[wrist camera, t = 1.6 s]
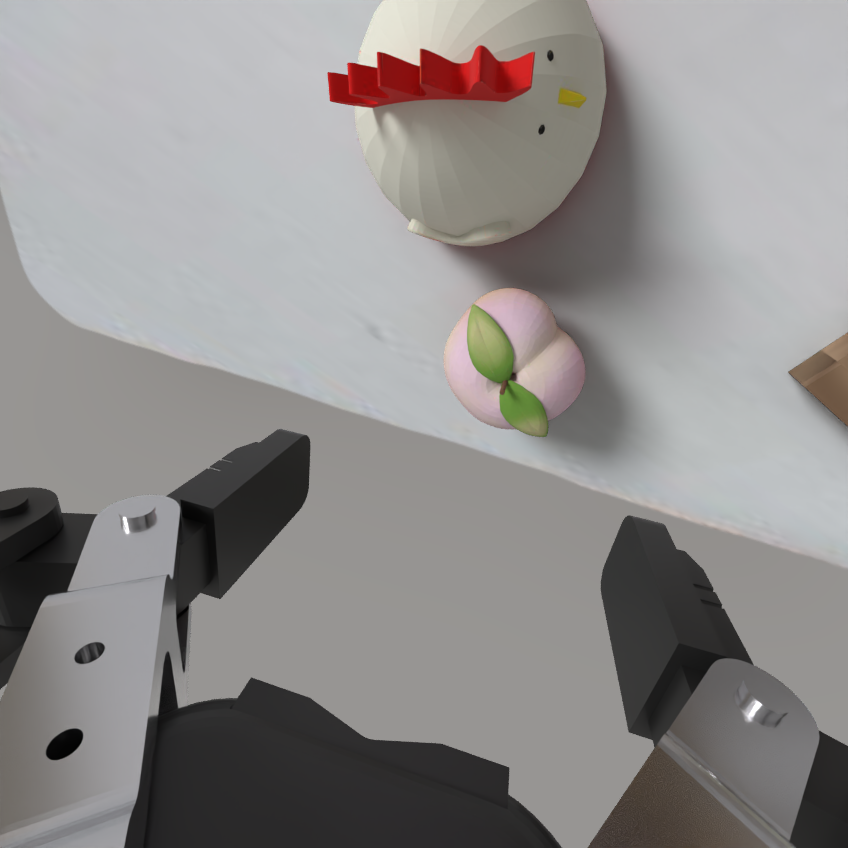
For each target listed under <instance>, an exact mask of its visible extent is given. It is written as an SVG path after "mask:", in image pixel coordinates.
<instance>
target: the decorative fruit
mask: <svg viewBox="0 0 848 848" xmlns="http://www.w3.org/2000/svg"><path fill="white" fill-rule="evenodd" d="M444 369H445V374H446V378H447V381H448V383H449V386H450V388H451V390H452V392H453V393H454V394H455V396H456V397H457V398H458V400H459V401H460V402H461V404H462V405H463V406H464V407H465V408H466V409H467V410H468V411H469V412H470V413H471V414H472V415H473V416H474V417H475V418H477V419H478V420H480V421H481V422H484V423H486V424H488V425H491V426H494V427H497V428H501V429H517V430H519V431H521V432H523V433H526V434H528V435H532V436H537V437H546V436H547V433H548V421H549V420H551V419H553V418H555V417H557V416H558V415H560V414H561V413H562V412H564V411H565V410H566V409H567V408H568V407H569V406H570V405H571V404H572V403H573V402H574V401H575V399H576V398H577V397H578V395H579V393H580V392H581V390H582V387H583V384H584V381H585V364H584V360H583V357H582V354H581V352H580V350H579V348H578V346H577V345H576V343H575V342H574V341H573V339H572V338H571V337H570V336H569V335H568V334H567V333H566V332H564V331H563V330H561V329H560V328H559V327H558V326H557V325H556V322H555V317H554V315H553V313H552V311H551V309H550V308H549V307H548V305H547V304H546V303H545V302H544V301H543V300H542V299H540V298H539V297H537V296H536V295H534V294H532V293H530V292H528V291H525V290H522V289H516V288H502V289H497V290H494V291H491V292H489V293H487V294H485V295H483V296H482V297H480V298H479V299H478V300H477V301H475V302H474V303H473V304H472V305H471V307H470V308H469V309H468V310H467V311H466V312H465V314H464V315H463V316H462V317H461V319H460V320H459V321H458V323H457V324H456V326H455V327H454V329H453V330H452V332H451V334H450V336H449V338H448V340H447V343H446V347H445V352H444Z"/></svg>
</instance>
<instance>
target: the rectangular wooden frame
mask: <svg viewBox="0 0 848 848" xmlns="http://www.w3.org/2000/svg"><path fill="white" fill-rule="evenodd" d="M789 373H790V374H791V375H792V376H793V377H794V378H795V379H796V380H797V381H798V382H800V383H801V384H802V385H803V386H804V387H805V388H806V389H807V390H808V391H809V392H811V393H812V394H813V395H814V396H815V397H816V398H817V399H818V400H819V401H820V402H822V403H823V404H824V405H825V406H826V407H827V408H828V409H829V410H830V411H831V412H833V413H834V414H835V415H836V416H837V417H838V418H839V419H840V420H841V421H842V422H844V423H845V424H846V425H847V426H848V333H846V334H845V335H843V336H842V337H840V338H839V339H837V340H836V341H834V342H833V343H831V344H830V345H828V346H827V347H825V348H824V349H822V350H821V351H819V352H818V353H816V354H815V355H813V356H812V357H810V358H809V359H807V360H806V361H804V362H803V363H801V364H800V365H798V366H796V367H795V368H793V369H792V370H790V371H789Z"/></svg>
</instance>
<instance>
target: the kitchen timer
mask: <svg viewBox="0 0 848 848" xmlns="http://www.w3.org/2000/svg"><path fill="white" fill-rule="evenodd" d="M347 65H348V75H344V74H338V73H331V72H328V83H329V95H330V101H331V102H336V103H341V104H347V105H353V106H355V121H356V129H357V133H358V137H359V140H360V144H361V147H362V151H363V154H364V158H365V161H366V164H367V166H368V167H369V169H370V171H371V173H372V175H373V176H374V178H375V180H376V182H377V184H378V185H379V187H380V189H381V191H382V192H383V194H384V195H385V196H386V197H387V199H388V200H389V201H390V202H391V203H392V204H393V205H394V206H395V207H396V208H397V209H398V210H399V211H400V212H401V213H402V214H403V215H404V216H405V217H406V218H407V219H408V220H409V221H410V224H409V226H408V231H410V232H412V233H415V234H417V235H420V236H423V237H426V238H430V239H433V240H437V241H440V242H444V243H448V244H453V245H459V246H483V245H489V244H493V243H498V242H503V241H505V240H508V239H510V238H512V237H515V236H517V235H519V234H521V233H524V232H526V231H528V230H531V229H532V228H533V227H535V226H536V225H537V224H538V223H539V222H541V221H542V220H543V219H544V218H546V217H547V216H548V215H549V214H551V213H552V212H553V211H554V210H556V209H557V208H558V207H559V206H560V205H561V203H562V202H563V201H564V199H565V198H566V197H567V195H568V194H569V193H570V191H571V190H572V189H573V187H574V186H575V185H576V183H577V182H578V181H579V179H580V178H581V177H582V175H583V172H584V170H585V168H586V165H587V163H588V161H589V158H590V156H591V154H592V151H593V149H594V147H595V144H596V142H597V140H598V137H599V133H600V128H601V122H602V116H603V110H604V104H605V99H606V93H607V90H606V77H605V64H604V51H603V44H602V41H601V39H600V36H599V33H598V31H597V28H596V25H595V23H594V20H593V17H592V14H591V12H590V9H589V6H588V4H587V1H586V0H383V1H382V3H381V4H380V6H379V7H378V8H377V10H376V11H375V13H374V15H373V17H372V20H371V22H370V25H369V28H368V30H367V33H366V35H365V38H364V41H363V43H362V46H361V48H360V51H359V57H358V64H356V63H347Z"/></svg>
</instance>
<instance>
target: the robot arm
mask: <svg viewBox="0 0 848 848" xmlns="http://www.w3.org/2000/svg"><path fill="white" fill-rule="evenodd" d="M309 467H310V439H309V437H308V436H307V435H303V434H299V433H295V432H291V431H287V430H283V429H279V430H276V431H275V432H274V433H272V434H271V435H269V436H268V437H267V438H265V439H264V440H262V441H261V442H260V443H258V442H255V443H252V444H249V445H246V446H243V447H240V448H237V449H235V450H234V451H232V452H231V453H229V454H228V455H226V456H225V457H223V458H222V461H220V460H219V461H217V462H216V463H215V464H213V465H212V466H210V469H206V470H204V471H203V472H201V473H200V474H198V475H197V476H195V477H194V478H192V479H191V480H189V481H188V482H187V483H185V484H183V485H182V486H181V487H179V488H178V489H176V490H175V491H173V492H172V493H170V494H169V495H167V496H162V495H140V496H134V497H130V498H127V499H123V500H120V501H118V502H115V503H114V504H111V505H109V506H108V507H106V508H105V509H103V510H102V511H101V512H100V513H99V514H74V513H61V509H60V505H59V501H58V498H57V496H56V494H55V493H54V492H52V491H50V490H47V489H42V488H18V489H11V490H6V491H2V492H0V689H1V688H2V687H3V686H5V685H6V684H7V686H6V688H5V691H4V693H3V695H2V698H1V700H0V848H561V846H560V845H559V843H558V842H557V841H556V840H555V838H554V837H553V836H552V834H551V833H550V832H549V831H548V830H547V829H546V828H545V826H543V824H542V823H541V822H540V821H539V820H538V819H537V818H536V817H535V816H534V815H533V814H532V813H531V812H530V811H528V810H527V809H526V808H525V807H524V806H523V805H522V804H521V803H519V802H518V801H516V800H515V799H514V798H512V797H511V796H510V795H508V785H509V783H508V782H509V767H506V766H503V765H500V764H498V763H495V762H492V761H489V760H486V759H483V758H480V757H477V756H475V755H472V754H469V753H466V752H463V751H460V750H457V749H454V748H452V747H449V746H446V745H443V744H436V743H418V742H401V741H383V740H371V739H368V738H365V737H363V736H362V735H360V734H359V733H357V732H356V731H355V730H353V729H352V728H350V727H349V726H348V725H346V724H345V723H344V722H342V721H341V720H340V719H338V718H337V717H335V716H334V715H333V714H331V713H330V712H329V711H327V710H326V709H324V708H323V707H322V706H320V705H319V704H317V703H316V702H315V701H313V700H312V699H311V698H308V697H305V696H303V695H300V694H297V693H294V692H291V691H288V690H285V689H283V688H279V687H277V686H274V685H271V684H268V683H265V682H263V681H260V680H257V679H253V678H251V679H250V680H249V682H248V683H247V685H246V686H245V688H244V689H243V691H242V692H241V694H240V695H239V697H238V698H226V699H214V700H208V701H203V702H198V703H194V704H191V705H188V671H189V653H190V634H191V633H190V632H191V617H192V609H191V602H192V601H193V600H194V599H195V597H197V595H198V594H199V593H203V594H206V595H209V596H212V597H215V598H219V599H221V598H222V597H223V595H224V594H225V593H226V592H227V591H228V590H229V589H230V588H231V586H232V585H233V584H234V583H235V582H236V581H237V580H238V579H239V577H240V576H241V575H242V574H243V573H244V572H245V571H246V570H247V568H248V567H249V566H250V565H251V564H252V563H253V562H254V561H255V559H256V558H257V557H258V556H259V555H260V554H261V553H262V552H263V550H264V549H265V548H266V547H267V546H268V545H269V544H270V543H271V541H272V540H273V539H274V538H275V537H276V536H277V535H278V534H279V532H280V531H281V530H282V529H283V528H284V527H285V526H286V525H287V523H288V522H289V521H290V520H291V519H292V518H293V517H294V516H295V514H296V513H297V512H298V511H299V510H300V509H301V507H302V505H303V504H304V502H305V500H306V497H307V493H308V489H309ZM601 594H602V599H603V604H604V609H605V614H606V620H607V625H608V630H609V635H610V640H611V644H612V650H613V655H614V660H615V665H616V670H617V675H618V680H619V685H620V690H621V695H622V701H623V705H624V710H625V715H626V720H627V726H628V730H629V732H630V733H633V734H636V735H639V736H642V737H645V738H648V739H651V740H653V743H654V747H655V748H654V750H653V752H652V753H651V754H650V756H649V757H648V759H647V760H646V762H645V763H644V765H643V766H642V768H641V769H640V771H639V772H638V774H637V775H636V777H635V778H634V780H633V781H632V783H631V784H630V786H629V787H628V789H627V790H626V791H625V793H624V794H623V796H622V797H621V799H620V801H619V802H618V803H617V805H616V806H615V808H614V809H613V811H612V812H611V814H610V815H609V817H608V818H607V820H606V821H605V823H604V824H603V826H602V827H601V829H600V830H599V832H598V833H597V835H596V836H595V838H594V839H593V841H592V842H591V843H590V845H589V847H588V848H848V746H847V745H845V744H843V743H841V742H839V741H837V740H835V739H833V738H832V737H830V736H828V735H826V734H824V733H822V732H821V731H819V730H818V727H817V724H816V722H815V720H814V718H813V716H812V714H811V713H810V711H809V710H808V709H807V707H806V706H805V705H804V704H803V703H802V701H801V700H800V699H799V698H798V697H797V696H796V695H795V694H794V693H793V692H792V691H791V690H790V689H789V688H788V687H787V686H785V685H784V684H783V683H782V682H780V681H779V680H778V679H776V678H775V677H774V676H772V675H770V674H769V673H767V672H766V671H764V670H762V669H760V668H758V667H757V666H754V665H753V663H752V661H751V659H750V657H749V655H748V653H747V651H746V649H745V648H744V646H743V644H742V642H741V640H740V638H739V636H738V634H737V632H736V631H735V629H734V627H733V625H732V623H731V621H730V619H729V617H728V616H727V614H726V612H725V610H724V609H722V604H721V602H720V600H719V598H718V596H717V595H716V593H715V592H713V587H712V585H711V584H710V582H709V579H708V578H707V576H706V574H705V572H704V570H703V569H702V568H701V567H700V566H699V565H698V564H697V563H696V562H695V561H694V560H693V559H692V558H691V557H690V556H689V555H688V554H687V553H686V552H685V551H681V550H677V549H676V547H675V545H674V543H673V541H672V539H671V537H670V535H669V533H668V531H667V528H666V526H665V525H664V524H662V523H658V522H654V521H650V520H646V519H642V518H638V517H633V516H627V517H625V519H624V520H623V522H622V524H621V527H620V529H619V531H618V534H617V537H616V539H615V541H614V543H613V546H612V548H611V551H610V553H609V556H608V558H607V560H606V563H605V565H604V569H603V572H602V579H601Z"/></svg>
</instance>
